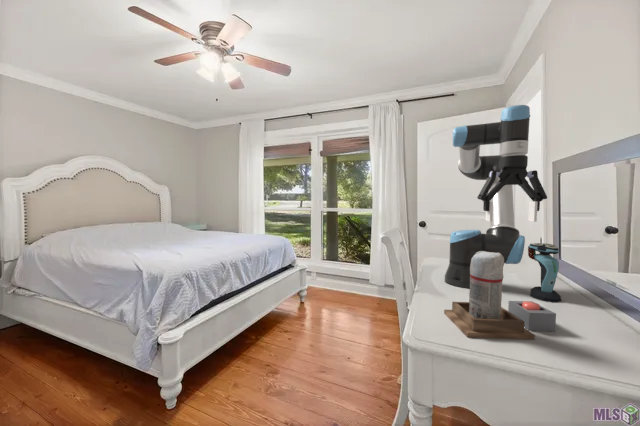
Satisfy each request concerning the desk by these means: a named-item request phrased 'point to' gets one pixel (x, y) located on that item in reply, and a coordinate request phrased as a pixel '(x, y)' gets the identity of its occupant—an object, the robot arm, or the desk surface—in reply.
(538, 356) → the desk surface
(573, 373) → the desk surface
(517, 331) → the walnut tray
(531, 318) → the control box
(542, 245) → the teal power drill
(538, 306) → the button
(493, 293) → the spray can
